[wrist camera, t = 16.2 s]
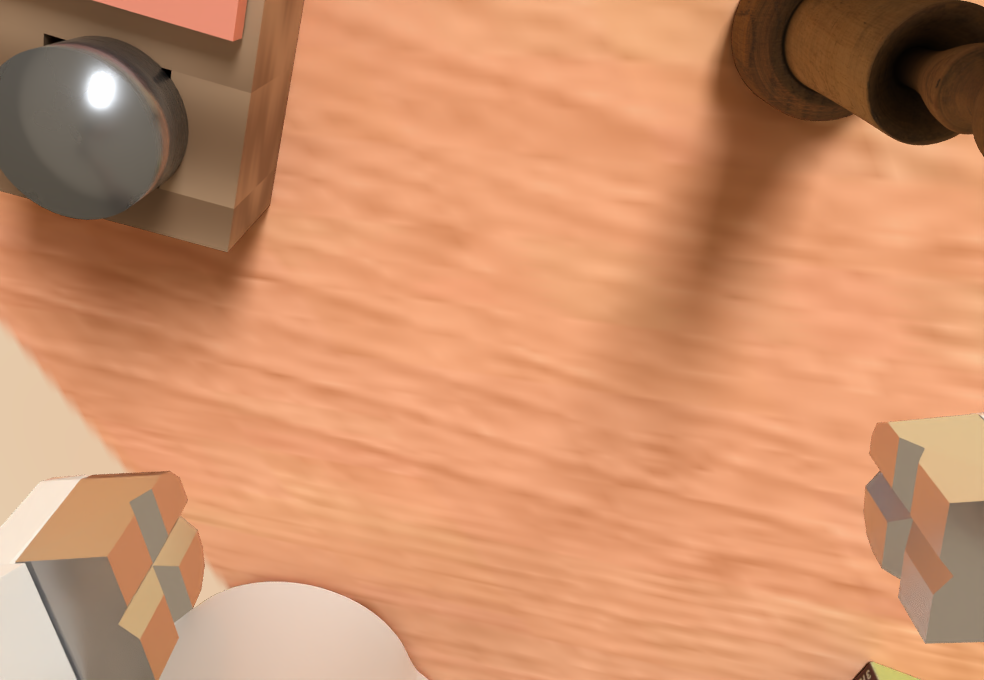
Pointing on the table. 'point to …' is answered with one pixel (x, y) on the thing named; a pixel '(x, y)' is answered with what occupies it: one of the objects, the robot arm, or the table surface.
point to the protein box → (882, 673)
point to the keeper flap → (193, 14)
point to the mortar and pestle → (868, 63)
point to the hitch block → (191, 106)
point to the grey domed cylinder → (89, 126)
